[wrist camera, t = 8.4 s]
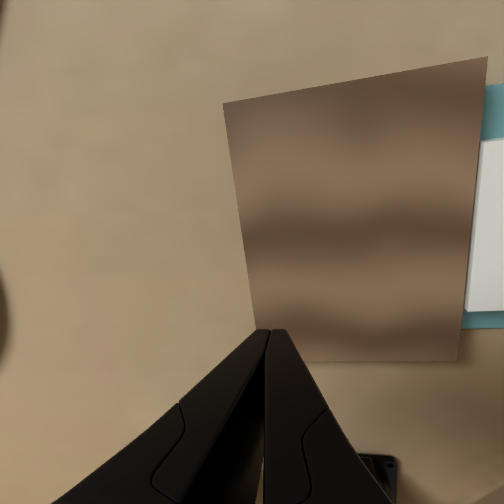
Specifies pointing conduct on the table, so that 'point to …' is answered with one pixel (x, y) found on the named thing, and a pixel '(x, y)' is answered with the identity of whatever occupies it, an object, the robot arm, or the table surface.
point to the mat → (492, 126)
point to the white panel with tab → (487, 232)
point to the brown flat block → (361, 211)
